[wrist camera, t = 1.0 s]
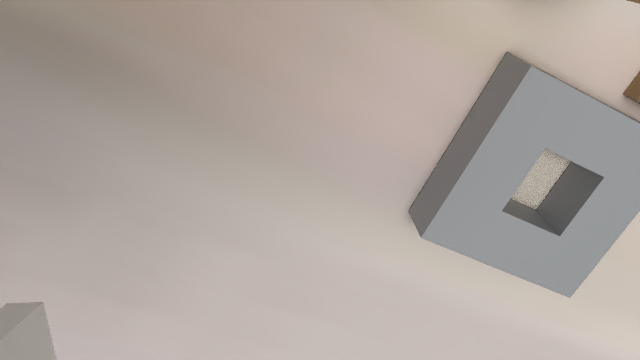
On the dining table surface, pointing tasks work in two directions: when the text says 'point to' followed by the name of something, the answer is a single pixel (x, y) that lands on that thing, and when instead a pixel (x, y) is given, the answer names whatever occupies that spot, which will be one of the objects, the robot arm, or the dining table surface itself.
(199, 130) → the dining table surface
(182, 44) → the dining table surface
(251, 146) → the dining table surface
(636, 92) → the short oak peg
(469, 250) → the socket block
